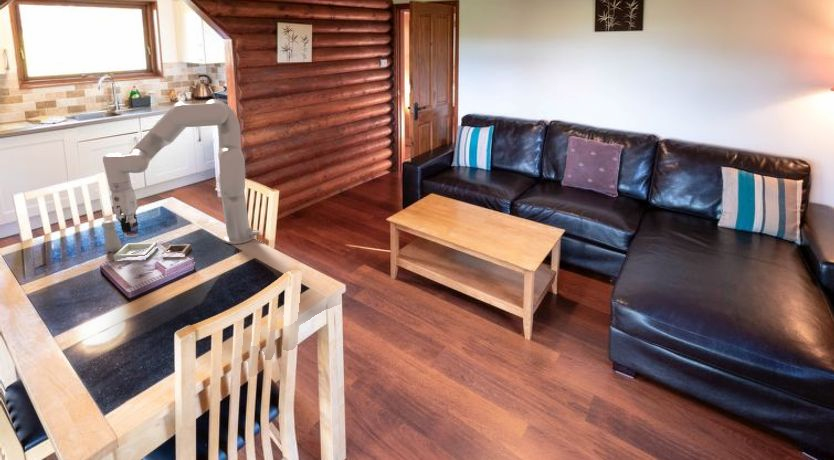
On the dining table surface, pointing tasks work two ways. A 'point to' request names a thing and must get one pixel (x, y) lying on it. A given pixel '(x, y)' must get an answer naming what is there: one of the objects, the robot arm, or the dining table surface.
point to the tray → (134, 247)
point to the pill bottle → (133, 226)
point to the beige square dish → (178, 248)
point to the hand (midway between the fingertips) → (130, 228)
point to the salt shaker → (111, 237)
